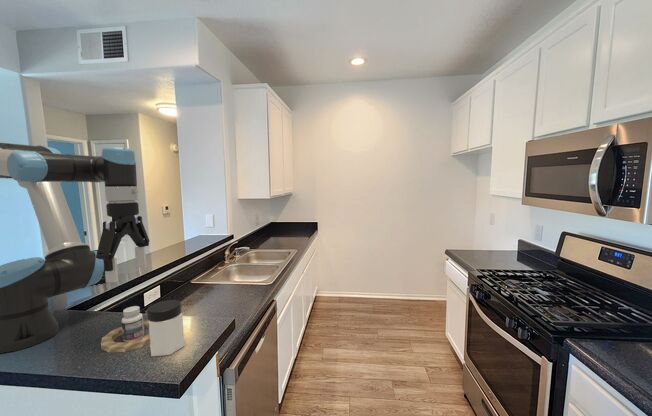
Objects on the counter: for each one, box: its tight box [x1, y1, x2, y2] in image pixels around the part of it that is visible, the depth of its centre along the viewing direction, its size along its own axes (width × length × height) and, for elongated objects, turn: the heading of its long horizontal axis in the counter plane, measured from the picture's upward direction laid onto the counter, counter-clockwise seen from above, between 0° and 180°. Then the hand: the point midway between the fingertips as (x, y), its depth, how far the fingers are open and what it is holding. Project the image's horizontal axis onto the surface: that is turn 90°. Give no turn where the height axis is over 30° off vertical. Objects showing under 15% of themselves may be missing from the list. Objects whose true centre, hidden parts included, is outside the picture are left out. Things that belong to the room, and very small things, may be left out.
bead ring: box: [100, 320, 150, 354], centre depth 84 cm, size 15×15×2 cm
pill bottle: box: [121, 305, 145, 342], centre depth 83 cm, size 5×5×9 cm
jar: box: [146, 299, 185, 357], centre depth 77 cm, size 9×8×12 cm
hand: (127, 274), depth 83 cm, fingers open, 13 cm apart
